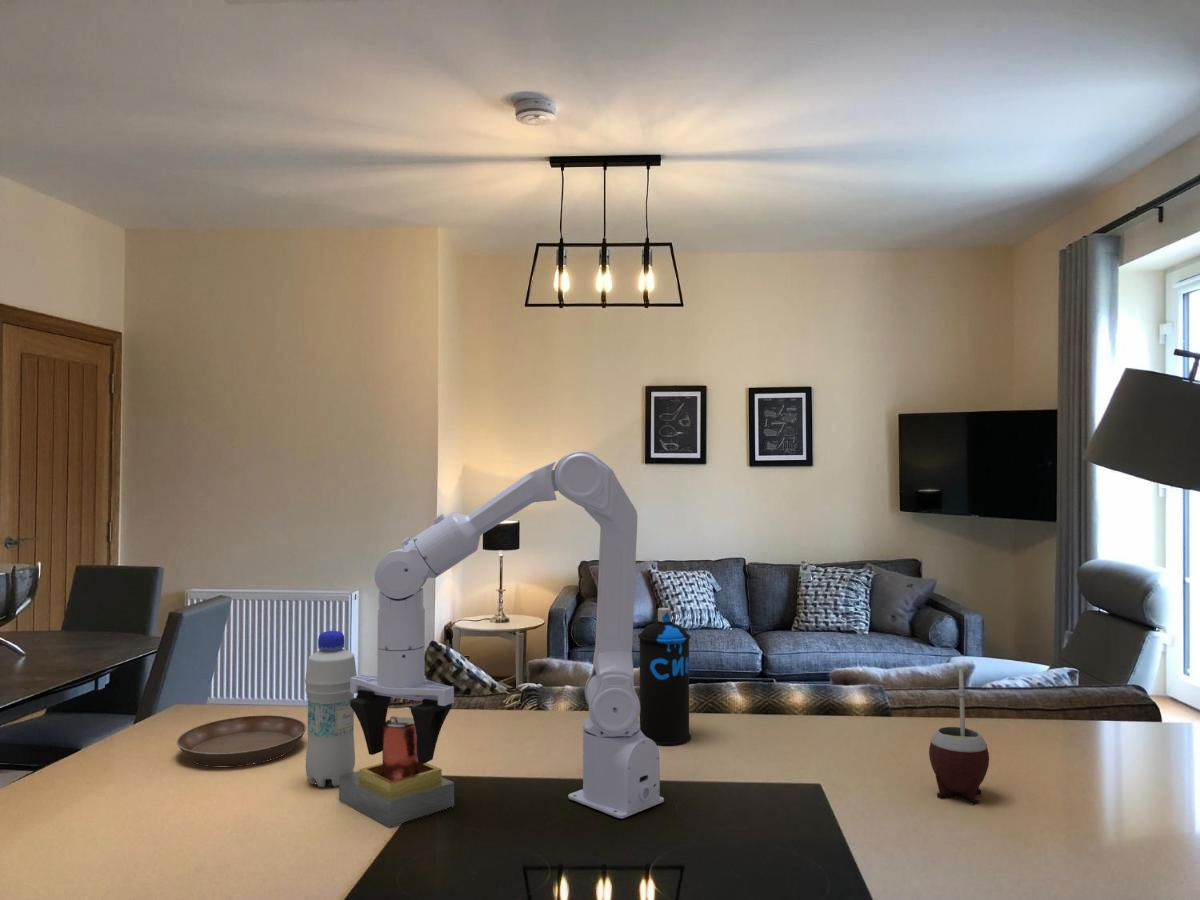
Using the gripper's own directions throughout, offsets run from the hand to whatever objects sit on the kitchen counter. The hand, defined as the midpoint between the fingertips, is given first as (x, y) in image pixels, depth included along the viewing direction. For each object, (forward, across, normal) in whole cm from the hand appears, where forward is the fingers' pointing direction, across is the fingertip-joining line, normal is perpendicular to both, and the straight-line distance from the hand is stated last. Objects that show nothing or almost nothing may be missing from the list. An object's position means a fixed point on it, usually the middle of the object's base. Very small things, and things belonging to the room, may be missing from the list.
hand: (400, 756), depth 107 cm
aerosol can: (+6, -20, -40) cm, 45 cm away
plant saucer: (+6, +35, -7) cm, 36 cm away
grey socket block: (+6, +1, 0) cm, 6 cm away
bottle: (+6, +14, -3) cm, 15 cm away
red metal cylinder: (+3, 0, 0) cm, 3 cm away
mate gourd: (+6, -62, -34) cm, 71 cm away
